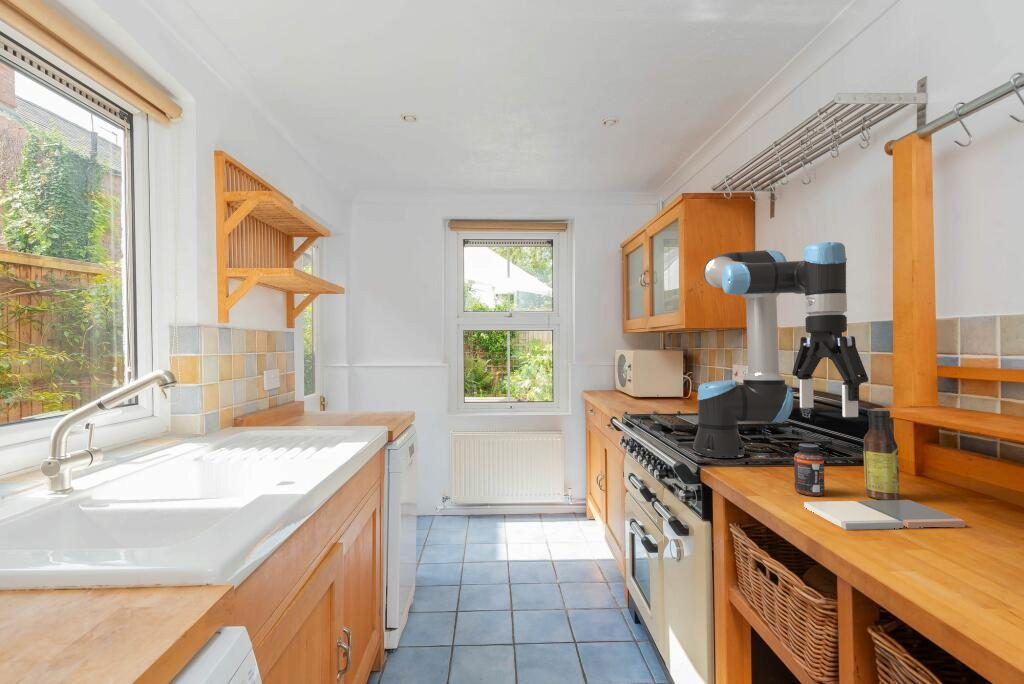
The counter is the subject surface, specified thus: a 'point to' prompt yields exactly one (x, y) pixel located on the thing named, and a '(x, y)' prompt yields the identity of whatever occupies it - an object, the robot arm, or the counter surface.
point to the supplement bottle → (809, 470)
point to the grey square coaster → (914, 514)
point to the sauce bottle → (881, 458)
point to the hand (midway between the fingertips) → (827, 412)
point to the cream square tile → (853, 515)
